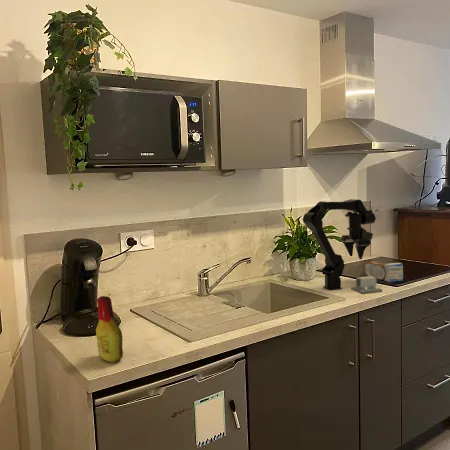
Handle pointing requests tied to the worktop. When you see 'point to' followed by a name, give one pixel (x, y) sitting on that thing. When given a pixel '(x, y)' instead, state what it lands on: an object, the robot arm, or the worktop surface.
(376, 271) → the tin
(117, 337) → the bottle
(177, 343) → the worktop surface
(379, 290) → the tray
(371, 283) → the block
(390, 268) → the medicine box
